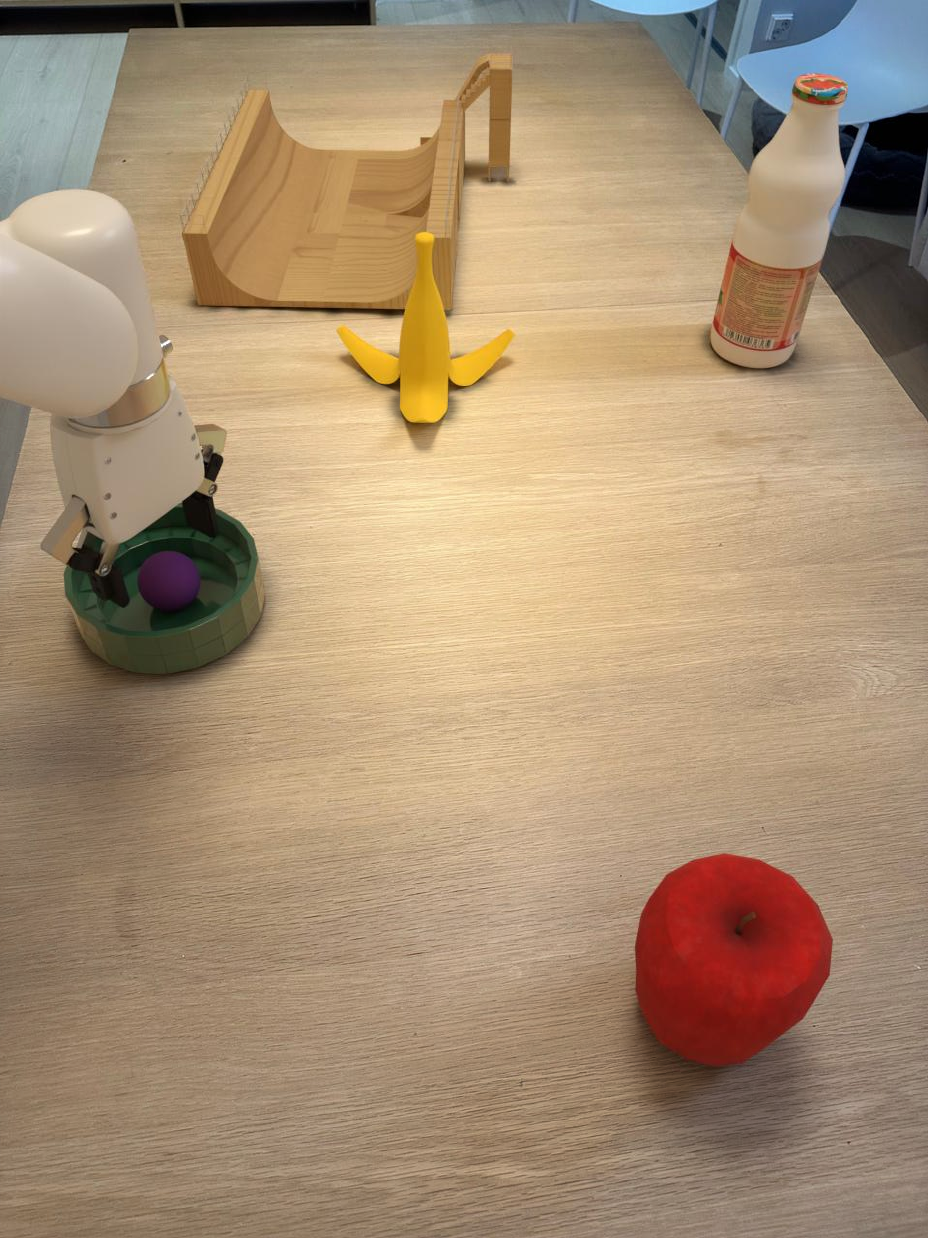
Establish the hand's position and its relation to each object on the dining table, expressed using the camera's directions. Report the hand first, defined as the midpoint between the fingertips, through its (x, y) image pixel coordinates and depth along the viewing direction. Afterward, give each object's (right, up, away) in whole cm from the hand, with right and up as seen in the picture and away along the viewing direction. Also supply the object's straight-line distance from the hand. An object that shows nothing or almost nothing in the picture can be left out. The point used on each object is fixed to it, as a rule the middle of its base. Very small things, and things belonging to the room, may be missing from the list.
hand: (160, 563), depth 82 cm
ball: (0, -1, +2) cm, 2 cm away
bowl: (0, -3, +4) cm, 5 cm away
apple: (+39, -29, -17) cm, 52 cm away
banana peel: (+20, +19, +25) cm, 37 cm away
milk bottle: (+57, +26, +33) cm, 70 cm away
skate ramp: (+12, +45, +49) cm, 68 cm away
